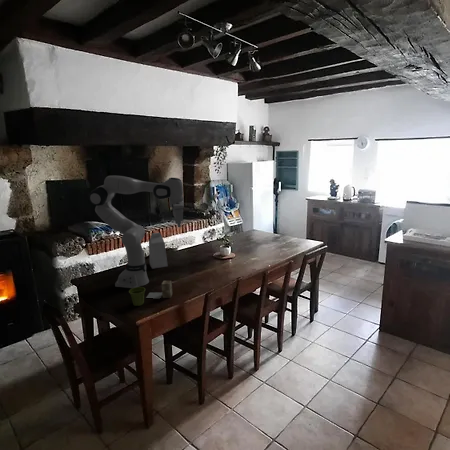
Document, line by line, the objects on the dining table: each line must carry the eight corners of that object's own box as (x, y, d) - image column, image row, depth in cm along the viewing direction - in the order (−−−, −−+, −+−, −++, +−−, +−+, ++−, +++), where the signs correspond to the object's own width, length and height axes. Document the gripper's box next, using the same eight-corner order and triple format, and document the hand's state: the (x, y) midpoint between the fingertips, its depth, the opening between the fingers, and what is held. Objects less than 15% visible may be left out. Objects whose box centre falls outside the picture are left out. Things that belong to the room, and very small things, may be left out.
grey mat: (145, 298, 200) (145, 298, 200) (149, 292, 208) (149, 292, 208) (160, 298, 199) (160, 298, 199) (163, 292, 207) (163, 292, 207)
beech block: (162, 297, 201) (161, 284, 199) (164, 294, 206) (163, 280, 203) (170, 297, 200) (169, 284, 198) (172, 294, 205) (171, 280, 203)
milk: (152, 268, 249) (149, 235, 243) (149, 264, 260) (146, 232, 254) (167, 266, 254) (165, 233, 248) (164, 261, 264) (162, 230, 258)
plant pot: (136, 309, 187) (134, 295, 185) (127, 304, 193) (125, 290, 191) (149, 303, 194) (148, 289, 192) (140, 298, 200) (139, 285, 198)
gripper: (169, 201, 213) (171, 222, 216) (173, 206, 194) (175, 229, 197) (179, 201, 215) (180, 221, 218) (184, 206, 195) (185, 228, 199)
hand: (178, 225), depth 207 cm, fingers open, 8 cm apart
